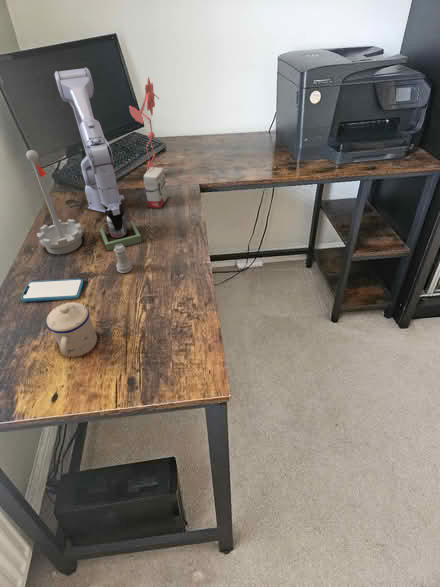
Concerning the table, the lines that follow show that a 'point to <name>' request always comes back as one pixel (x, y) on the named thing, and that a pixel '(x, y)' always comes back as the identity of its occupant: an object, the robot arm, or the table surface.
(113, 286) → the table surface
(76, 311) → the teacup with lid
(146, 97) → the figurine
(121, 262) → the rook chess piece
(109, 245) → the holder
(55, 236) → the flag stand
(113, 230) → the pill bottle
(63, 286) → the smartphone
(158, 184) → the ink box
